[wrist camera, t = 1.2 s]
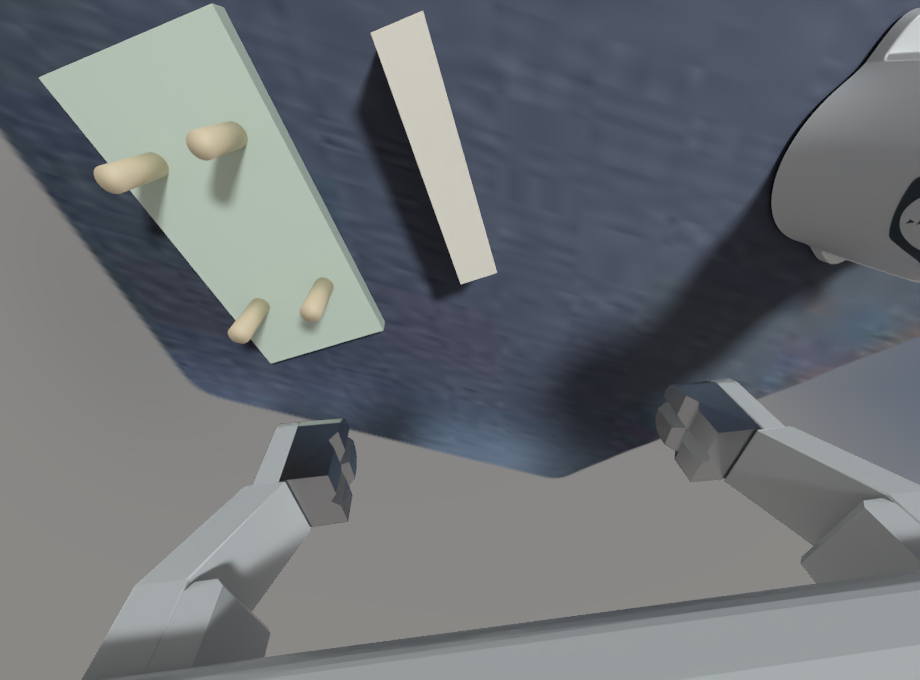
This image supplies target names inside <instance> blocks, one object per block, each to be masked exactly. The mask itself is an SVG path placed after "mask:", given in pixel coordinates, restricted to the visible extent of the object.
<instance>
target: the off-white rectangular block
mask: <svg viewBox="0 0 920 680" xmlns="http://www.w3.org/2000/svg"><path fill="white" fill-rule="evenodd" d="M371 35H372V38H373V41H374V44H375V47H376V49H377V52H378V55H379V58H380V61H381V63H382V66H383V69H384V72H385V75H386V77H387V80H388V83H389V86H390V88H391V91H392V94H393V97H394V100H395V102H396V105H397V108H398V111H399V114H400V116H401V119H402V122H403V125H404V128H405V130H406V133H407V136H408V139H409V142H410V144H411V147H412V150H413V153H414V155H415V158H416V161H417V164H418V167H419V169H420V172H421V175H422V178H423V181H424V183H425V186H426V189H427V192H428V195H429V197H430V200H431V203H432V206H433V209H434V211H435V214H436V217H437V220H438V222H439V225H440V228H441V231H442V234H443V236H444V239H445V242H446V245H447V248H448V250H449V253H450V256H451V259H452V262H453V264H454V267H455V270H456V273H457V276H458V278H459V281H460V284H464V283H467V282H470V281H473V280H476V279H479V278H482V277H486V276H489V275H492V274H495V273H497V271H496V267H495V263H494V260H493V256H492V253H491V249H490V246H489V242H488V239H487V235H486V232H485V228H484V225H483V221H482V218H481V214H480V211H479V207H478V203H477V200H476V196H475V193H474V189H473V186H472V182H471V179H470V175H469V172H468V168H467V165H466V161H465V158H464V154H463V151H462V147H461V143H460V140H459V136H458V133H457V129H456V126H455V122H454V119H453V115H452V112H451V108H450V105H449V101H448V98H447V94H446V91H445V87H444V83H443V80H442V76H441V73H440V69H439V66H438V62H437V59H436V55H435V52H434V48H433V45H432V41H431V38H430V34H429V31H428V27H427V23H426V20H425V16H424V13H423V11H421V12H418V13H416V14H414V15H411V16H409V17H407V18H404V19H402V20H400V21H397V22H395V23H393V24H390V25H388V26H386V27H383V28H381V29H379V30H376V31H374V32H372V33H371Z"/></svg>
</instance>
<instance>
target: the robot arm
mask: <svg viewBox="0 0 920 680" xmlns="http://www.w3.org/2000/svg"><path fill="white" fill-rule="evenodd" d="M771 206H772V214H773V218H774V220H775V223H776V225H777V227H778V228H779V229H780V231H781V232H782V233H783V234H785V235H786V236H787V237H789V238H791V239H793V240H795V241H798V242H801V243H804V244H806V245H808V246H810V247H811V249H812V251H813V253H814V255H815V256H816V257H817V258H818V259H819V260H820V261H823V262H826V263H829V264H838V263H841V262H843V261H845V260H848V261H851V262H854V263H857V264H860V265H863V266H866V267H869V268H872V269H876V270H879V271H882V272H885V273H888V274H891V275H894V276H897V277H900V278H903V279H907V280H910V281H914V282H920V8H917V9H914V10H911V11H910V12H908V13H907V14H905V15H904V16H903V17H902V18H900V19H899V20H898V22H897V23H896V24H895V25H894V26H893V27H892V28H891V29H890V31H889V32H888V33H887V34H886V36H885V37H884V38H883V40H882V41H881V42H880V44H879V45H878V46H877V48H876V49H875V50H874V52H873V53H872V54H871V56H870V57H869V59H868V60H867V61H866V63H865V64H864V65H863V66H862V67H861V68H860V69H859V70H858V71H857V72H856V73H855V74H854V75H853V76H851V77H850V78H849V79H848V80H847V81H846V82H845V83H843V84H842V85H841V86H840V87H839V88H838V89H837V90H836V91H834V92H833V93H832V94H831V95H830V96H829V97H828V98H827V99H826V100H825V101H824V102H823V103H822V104H821V105H820V106H819V107H818V109H817V110H816V111H815V112H814V113H813V114H812V115H811V117H810V118H809V119H808V120H807V121H806V123H805V124H804V125H803V127H802V128H801V129H800V131H799V132H798V134H797V135H796V137H795V138H794V140H793V141H792V143H791V145H790V146H789V148H788V150H787V152H786V154H785V156H784V158H783V160H782V162H781V164H780V167H779V169H778V172H777V175H776V178H775V181H774V185H773V191H772V200H771ZM663 397H664V399H665V401H666V402H665V403H664V404H663V405H662V406H661V407H659V408H658V410H657V414H656V417H655V422H656V429H657V432H658V434H659V436H660V438H661V440H662V441H663V442H664V444H665V445H667V446H668V447H670V448H671V449H673V450H675V460H676V462H677V463H678V465H679V466H680V467H681V469H682V470H683V472H684V473H685V475H686V476H687V478H688V479H689V480H690V482H698V481H709V480H721V479H725V482H726V483H728V484H729V485H731V486H732V487H734V488H735V489H736V490H737V491H739V492H740V493H742V494H743V495H744V496H746V497H747V498H748V499H750V500H751V501H753V502H754V503H755V504H757V505H758V506H760V507H761V508H762V509H764V510H765V511H767V512H768V513H769V514H771V515H772V516H773V517H775V518H776V519H777V520H779V521H780V522H782V523H783V524H784V525H786V526H787V527H788V528H790V529H791V530H793V531H794V532H795V533H797V534H798V535H800V536H801V537H802V538H804V539H805V540H806V541H808V542H809V543H810V544H812V545H813V547H812V548H811V549H810V550H809V551H808V552H807V553H806V554H804V555H803V556H802V558H801V564H802V566H803V567H804V569H805V570H806V571H807V572H808V574H809V575H810V576H811V577H812V579H813V580H814V581H815V583H816V584H810V585H803V586H795V587H788V588H781V589H773V590H765V591H758V592H751V593H743V594H736V595H729V596H721V597H714V598H705V599H698V600H691V601H683V602H676V603H669V604H661V605H654V606H646V607H639V608H631V609H624V610H616V611H608V612H601V613H593V614H586V615H578V616H571V617H563V618H556V619H549V620H541V621H533V622H526V623H519V624H511V625H503V626H496V627H488V628H481V629H473V630H466V631H458V632H451V633H444V634H436V635H428V636H422V637H414V638H406V639H398V640H391V641H384V642H376V643H369V644H361V645H354V646H346V647H339V648H331V649H324V650H316V651H309V652H301V653H294V654H287V655H279V656H271V657H264V656H265V653H266V648H267V644H268V641H269V637H270V632H269V630H268V628H267V626H266V625H265V624H264V623H263V622H262V621H261V620H260V619H258V618H257V616H255V615H254V614H253V613H252V611H253V609H254V608H255V606H256V605H257V604H258V602H259V601H260V600H261V598H262V597H263V595H264V594H265V592H266V591H267V590H268V589H269V587H270V586H271V584H272V583H273V582H274V580H275V579H276V577H277V576H278V574H279V573H280V572H281V570H282V569H283V567H284V566H285V565H286V564H287V562H288V561H289V559H290V558H291V556H292V555H293V554H294V553H295V551H296V550H297V548H298V547H299V546H300V544H301V543H302V541H303V540H304V539H305V537H306V535H307V534H308V533H309V532H310V530H311V528H310V527H314V526H321V525H329V524H335V523H342V522H348V517H349V512H350V506H351V499H352V493H351V491H350V488H349V484H350V483H351V482H352V481H353V480H354V479H355V474H356V450H355V445H354V442H353V440H351V439H350V438H348V431H349V427H348V424H347V422H346V419H330V420H317V421H304V422H296V423H283V424H280V425H279V426H278V427H277V428H276V429H275V431H274V433H273V436H272V438H271V441H270V443H269V446H268V448H267V450H266V453H265V455H264V458H263V460H262V462H261V465H260V467H259V470H258V472H257V475H256V477H255V480H254V482H253V484H252V485H247V486H245V487H244V488H242V489H241V490H240V491H239V492H238V493H237V494H236V495H235V496H234V497H232V498H231V499H230V500H229V501H228V502H227V503H226V504H225V505H224V506H223V507H222V508H221V509H219V510H218V511H217V512H216V513H215V514H214V515H213V516H212V517H210V518H209V519H208V520H207V521H206V522H205V523H204V524H203V525H202V526H200V527H199V528H198V529H197V530H196V531H195V532H194V533H193V534H192V535H191V536H190V537H188V538H187V539H186V540H185V541H184V542H183V543H182V544H181V545H180V546H178V547H177V548H176V549H175V550H174V551H173V552H172V553H171V554H170V555H169V556H167V557H166V558H165V559H164V560H163V561H162V562H161V563H160V564H159V565H157V566H156V567H155V568H154V569H153V570H152V571H151V572H150V573H149V574H148V575H146V576H145V577H144V578H143V579H142V580H141V581H140V582H139V583H138V584H137V585H135V586H134V588H133V590H132V591H131V593H130V595H129V597H128V599H127V600H126V602H125V604H124V606H123V607H122V609H121V611H120V613H119V614H118V617H117V618H116V620H115V622H114V623H113V625H112V627H111V629H110V631H109V632H108V634H107V636H106V638H105V639H104V641H103V643H102V645H101V647H100V648H99V650H98V652H97V653H96V655H95V657H94V659H93V661H92V662H91V664H90V666H89V668H88V669H87V671H86V673H85V675H84V677H83V678H82V680H920V485H918V484H916V483H914V482H912V481H909V480H907V479H905V478H903V477H901V476H899V475H896V474H894V473H892V472H890V471H888V470H885V469H883V468H881V467H879V466H877V465H874V464H872V463H870V462H868V461H866V460H864V459H861V458H859V457H857V456H855V455H853V454H851V453H848V452H846V451H844V450H842V449H840V448H837V447H835V446H833V445H831V444H829V443H826V442H824V441H822V440H820V439H818V438H816V437H813V436H811V435H809V434H807V433H805V432H802V431H800V430H798V429H796V428H794V427H792V426H791V427H785V426H784V425H783V424H781V423H780V422H779V421H778V420H777V419H776V418H775V417H774V416H773V415H772V414H771V413H770V412H768V411H767V410H766V409H765V408H764V407H763V406H762V405H761V404H760V403H759V402H758V401H757V400H756V399H755V398H754V397H753V396H751V395H750V394H749V393H748V392H747V391H746V390H745V389H744V388H743V387H742V386H741V385H740V384H739V383H737V382H736V381H734V380H732V379H722V380H713V381H703V382H694V383H685V384H676V385H670V386H669V387H668V388H667V389H666V390H665V393H664V395H663Z"/></svg>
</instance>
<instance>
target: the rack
mask: <svg viewBox="0 0 920 680" xmlns="http://www.w3.org/2000/svg"><path fill="white" fill-rule="evenodd" d="M39 79H40V80H41V81H42V83H43V84H44V85H45V86H46V88H47V89H48V90H49V91H50V92H51V94H52V95H53V96H54V97H55V99H56V100H57V101H58V102H59V104H60V105H61V106H62V107H63V109H64V110H65V111H66V112H67V113H68V115H69V116H70V117H71V118H72V120H73V121H74V122H75V123H76V125H77V126H78V127H79V128H80V129H81V131H82V132H83V133H84V134H85V136H86V137H87V138H88V139H89V141H90V142H91V143H92V144H93V145H94V147H95V148H96V149H97V150H98V152H99V153H100V154H101V155H102V157H103V158H104V159H105V160H106V161H107V164H104V165H100V166H97V167H96V168H95V170H94V177H95V179H96V181H97V183H98V184H99V185H100V186H101V187H102V188H103V189H105V190H106V191H108V192H110V193H113V194H121V193H123V192H126V191H129V190H130V191H131V192H132V193H133V195H134V196H135V197H136V198H137V200H138V201H139V202H140V203H141V205H142V206H143V207H144V208H145V210H146V211H147V212H148V213H149V214H150V216H151V217H152V218H153V219H154V221H155V222H156V223H157V224H158V226H159V227H160V228H161V229H162V230H163V232H164V233H165V234H166V235H167V237H168V238H169V239H170V240H171V242H172V243H173V244H174V245H175V246H176V248H177V249H178V250H179V251H180V253H181V254H182V255H183V256H184V258H185V259H186V260H187V261H188V262H189V264H190V265H191V266H192V267H193V269H194V270H195V271H196V272H197V274H198V275H199V276H200V277H201V278H202V280H203V281H204V282H205V283H206V285H207V286H208V287H209V288H210V290H211V291H212V292H213V293H214V294H215V296H216V297H217V298H218V299H219V301H220V302H221V303H222V304H223V306H224V307H225V308H226V309H227V310H228V312H229V313H230V314H231V315H232V317H233V318H234V319H235V320H236V321H235V322H234V324H233V325H232V326H231V328H230V329H229V330H228V336H229V337H230V339H232V340H233V341H234V342H237V343H247V342H248V341H249V340H250V339H251V340H252V341H253V343H254V344H255V345H256V346H257V347H258V349H259V350H260V351H261V352H262V354H263V355H264V356H265V357H266V359H267V360H268V361H269V362H270V363H275V362H278V361H281V360H285V359H288V358H292V357H295V356H298V355H302V354H305V353H309V352H312V351H315V350H319V349H322V348H326V347H329V346H332V345H336V344H339V343H342V342H346V341H349V340H353V339H356V338H359V337H363V336H366V335H370V334H373V333H376V332H380V331H383V330H384V324H385V321H384V319H383V317H382V315H381V313H380V311H379V309H378V307H377V305H376V304H375V302H374V300H373V298H372V296H371V294H370V292H369V290H368V288H367V286H366V284H365V282H364V280H363V278H362V276H361V274H360V272H359V270H358V268H357V266H356V264H355V263H354V261H353V259H352V257H351V255H350V253H349V251H348V249H347V247H346V245H345V243H344V241H343V239H342V237H341V235H340V233H339V231H338V229H337V227H336V225H335V223H334V221H333V220H332V218H331V216H330V214H329V212H328V210H327V208H326V206H325V204H324V202H323V200H322V198H321V196H320V194H319V192H318V190H317V188H316V186H315V184H314V182H313V180H312V179H311V177H310V175H309V173H308V171H307V169H306V167H305V165H304V163H303V161H302V159H301V157H300V155H299V153H298V151H297V149H296V147H295V145H294V143H293V141H292V139H291V138H290V136H289V134H288V132H287V130H286V128H285V126H284V124H283V122H282V120H281V118H280V116H279V114H278V112H277V110H276V108H275V106H274V104H273V102H272V100H271V98H270V97H269V95H268V93H267V91H266V89H265V87H264V85H263V83H262V81H261V79H260V77H259V75H258V73H257V71H256V69H255V67H254V65H253V63H252V61H251V59H250V57H249V56H248V54H247V52H246V50H245V48H244V46H243V44H242V42H241V40H240V38H239V36H238V34H237V32H236V30H235V28H234V26H233V24H232V22H231V20H230V18H229V16H228V15H227V13H226V11H225V9H224V7H221V6H218V5H215V4H209V5H207V6H205V7H202V8H200V9H198V10H195V11H193V12H191V13H188V14H186V15H184V16H181V17H179V18H177V19H174V20H172V21H170V22H167V23H165V24H163V25H160V26H158V27H156V28H153V29H151V30H149V31H146V32H144V33H142V34H139V35H137V36H135V37H132V38H130V39H128V40H125V41H123V42H121V43H118V44H116V45H114V46H111V47H109V48H107V49H104V50H102V51H100V52H97V53H95V54H93V55H90V56H88V57H86V58H83V59H81V60H79V61H76V62H74V63H71V64H69V65H67V66H64V67H62V68H60V69H57V70H55V71H53V72H50V73H48V74H46V75H43V76H41V77H39Z"/></svg>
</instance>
